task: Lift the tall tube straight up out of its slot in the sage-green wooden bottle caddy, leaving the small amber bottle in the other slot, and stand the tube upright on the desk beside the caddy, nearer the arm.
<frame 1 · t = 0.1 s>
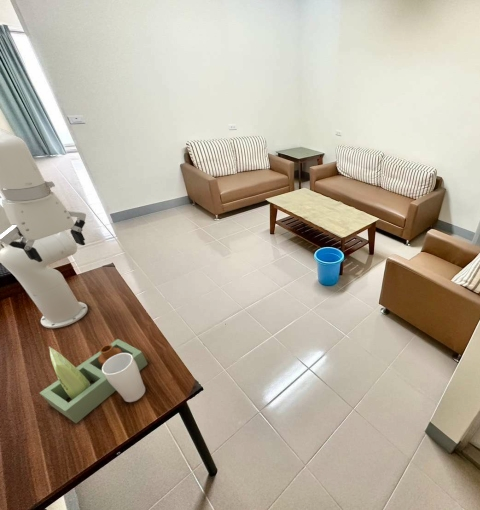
hand: (60, 251, 73), 37 cm above the table, tool pointing down, fingers open, 9 cm apart
caddy: (103, 383, 81), on the table
white cup: (135, 394, 79), on the table
tube: (86, 397, 77), resting in caddy
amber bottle: (119, 370, 84), resting in caddy
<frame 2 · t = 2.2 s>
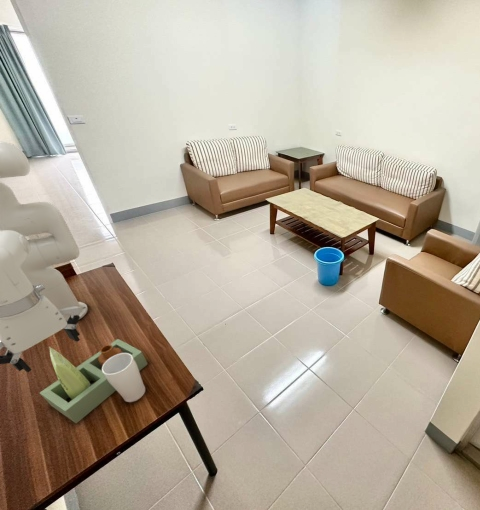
hand: (52, 353, 66), 20 cm above the table, tool pointing down, fingers open, 9 cm apart
nothing on the table moved.
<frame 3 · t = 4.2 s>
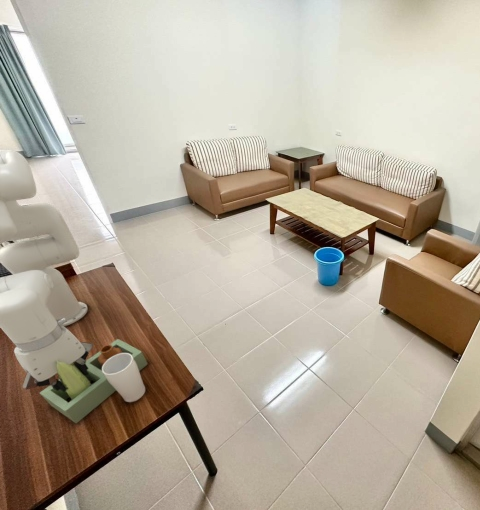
hand: (73, 380, 73), 8 cm above the table, tool pointing down, fingers closed on tube, 4 cm apart
tube: (86, 397, 77), resting in caddy, touching gripper
everything else where it was.
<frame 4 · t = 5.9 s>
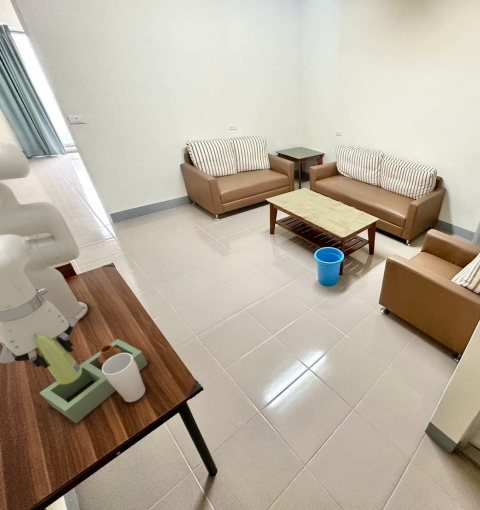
hand: (55, 356, 68), 18 cm above the table, tool pointing down, fingers closed on tube, 4 cm apart
tube: (70, 376, 72), point 9 cm above the table, touching gripper
everything else where it was.
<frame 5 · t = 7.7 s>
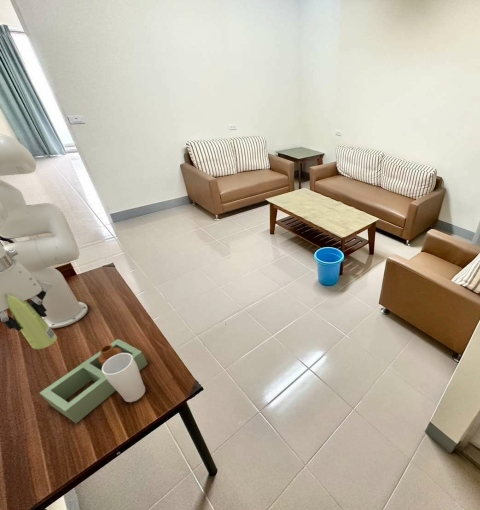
hand: (29, 320, 69), 24 cm above the table, tool pointing down, fingers closed on tube, 4 cm apart
tube: (45, 342, 74), point 15 cm above the table, touching gripper
everything else where it was.
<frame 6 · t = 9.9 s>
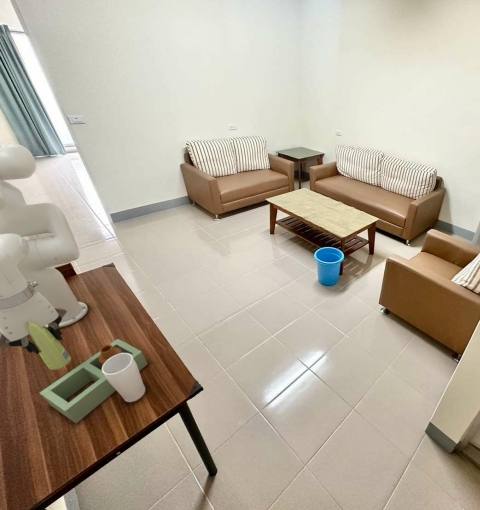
hand: (46, 344, 75), 13 cm above the table, tool pointing down, fingers closed on tube, 4 cm apart
tube: (60, 363, 80), point 5 cm above the table, touching gripper
everything else where it was.
when the fingers open (8 cm above the table, at t = 11.5 s): tube stays where it is, on the table.
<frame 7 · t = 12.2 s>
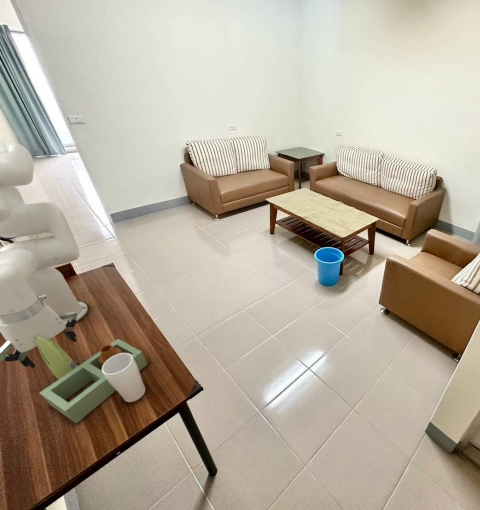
hand: (52, 352, 77), 10 cm above the table, tool pointing down, fingers open, 9 cm apart
tube: (68, 372, 82), on the table
everything else where it was.
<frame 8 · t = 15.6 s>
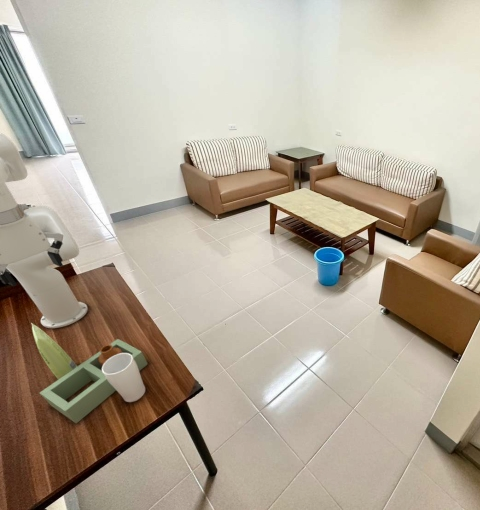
hand: (36, 273, 71), 32 cm above the table, tool pointing down, fingers open, 9 cm apart
nothing on the table moved.
at the end: tube inside the target area (0.1 cm from its centre), on the table; tube tilted 0°; the gripper is holding nothing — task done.
